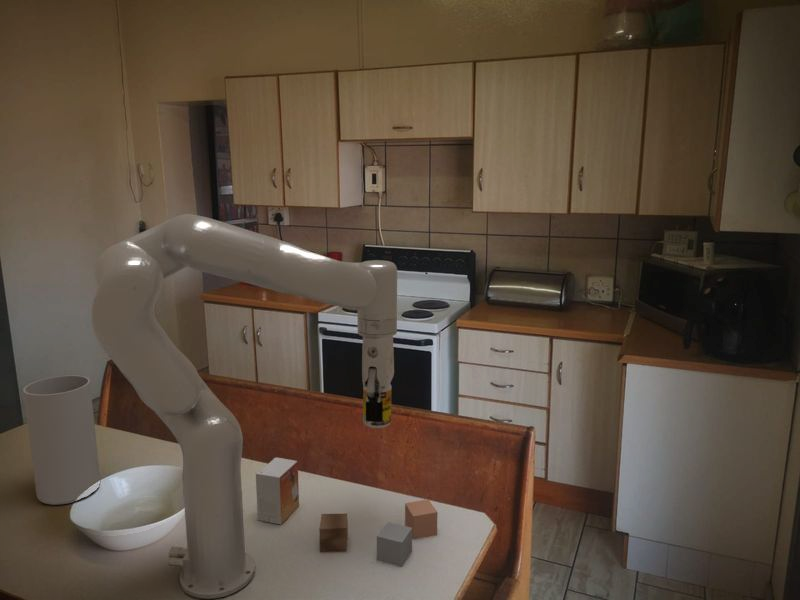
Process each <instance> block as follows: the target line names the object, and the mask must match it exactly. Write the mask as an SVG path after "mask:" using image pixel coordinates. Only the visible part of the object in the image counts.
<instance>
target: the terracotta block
mask: <svg viewBox="0 0 800 600" xmlns="http://www.w3.org/2000/svg"><path fill="white" fill-rule="evenodd" d="M404 505H405V506H404V526H406V527H411V528H412V540H417V539H421V538H426V537H427V538H428V537H433V536H437V535H438V510H436V508H435V506H434V505H433V503H432V502H431V500H429V499H422V500H421V499H420V500H417V501H410V502H405V504H404Z"/></svg>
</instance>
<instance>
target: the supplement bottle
mask: <svg viewBox="0 0 800 600" xmlns="http://www.w3.org/2000/svg"><path fill="white" fill-rule="evenodd" d="M362 386H363V387H362V392H363V393H362V422H363V424H364V426H366V427H368V428H372V429H383V428H386V427H388V426H389V425H390V424H391V423H392V389H393V388H392V384H391V383H390V385H389V386H388V387H387V388H384V387H382V395H381V401H383V420H382V422H371V421H366V393H367V387H365V386H364V385H363V384H362ZM375 386H379V383H375ZM375 392H377V394H378V389H375Z"/></svg>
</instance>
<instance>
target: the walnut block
mask: <svg viewBox="0 0 800 600" xmlns="http://www.w3.org/2000/svg"><path fill="white" fill-rule="evenodd" d="M319 523H320V524H319V529H318V530H319V553H347V552H348V538H349V537H348V536H349V533H348V530H349V529H348V528H349V527H348V513H345V512H344V513H321V515H320V522H319Z"/></svg>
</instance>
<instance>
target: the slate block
mask: <svg viewBox="0 0 800 600" xmlns="http://www.w3.org/2000/svg"><path fill="white" fill-rule="evenodd" d="M412 553H413V538H412V528H411V527H406V526H405V525H402V524H397V523H393V522H388V521H387V522H386V523H385V524H384V526H383V527H382V528H381V530H380V531H379V532H378V534H377V535H376V561H378V562H381V563H382V562H383V563H386V564H389V565H394V566H397V567H400V568H402V567H403V566H404V565H405V563H406V561H407V560H408V558H409V557H410V555H411V554H412Z"/></svg>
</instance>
